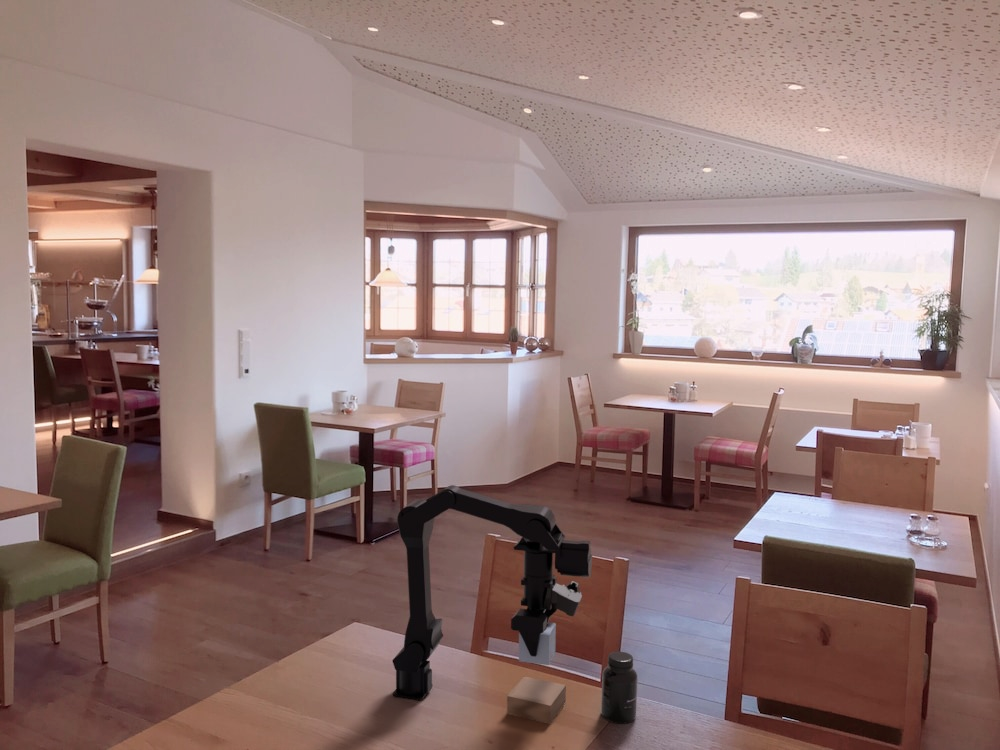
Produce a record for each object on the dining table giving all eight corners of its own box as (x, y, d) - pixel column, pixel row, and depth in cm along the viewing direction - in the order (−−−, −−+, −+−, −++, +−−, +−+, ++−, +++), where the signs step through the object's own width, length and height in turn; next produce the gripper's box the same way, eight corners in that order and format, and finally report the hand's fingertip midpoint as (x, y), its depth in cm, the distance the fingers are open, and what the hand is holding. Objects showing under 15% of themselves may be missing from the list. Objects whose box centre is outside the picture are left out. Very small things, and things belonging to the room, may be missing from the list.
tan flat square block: (507, 715, 157) (507, 695, 156) (524, 694, 165) (524, 676, 165) (550, 725, 153) (550, 705, 153) (565, 704, 161) (565, 685, 161)
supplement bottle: (635, 726, 153) (637, 665, 151) (599, 722, 154) (601, 662, 153) (636, 708, 159) (638, 650, 158) (602, 704, 161) (603, 647, 159)
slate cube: (518, 661, 156) (519, 631, 155) (526, 648, 162) (526, 619, 161) (548, 665, 154) (549, 635, 154) (555, 652, 160) (555, 623, 160)
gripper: (569, 593, 145) (568, 675, 147) (587, 561, 163) (585, 635, 165) (510, 586, 148) (509, 667, 150) (534, 556, 166) (533, 629, 168)
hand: (537, 649), depth 158 cm, fingers closed on slate cube, 6 cm apart
